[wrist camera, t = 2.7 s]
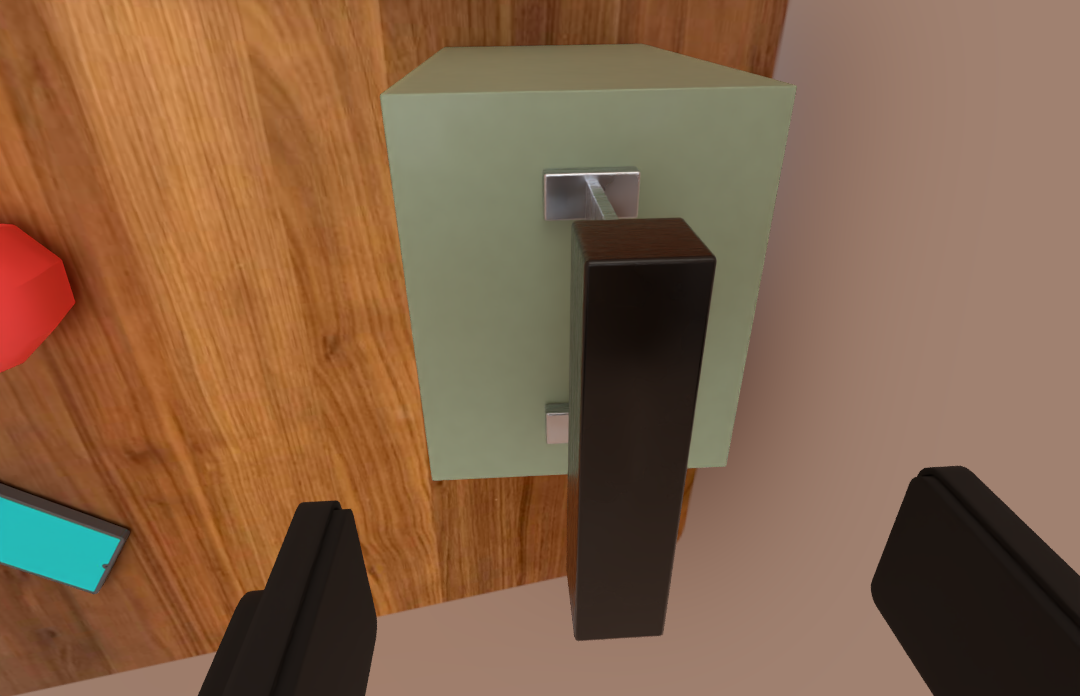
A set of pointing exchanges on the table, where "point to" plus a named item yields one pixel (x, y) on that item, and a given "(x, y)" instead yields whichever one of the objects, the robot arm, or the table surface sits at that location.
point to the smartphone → (57, 541)
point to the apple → (28, 295)
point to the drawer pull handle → (626, 395)
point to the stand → (565, 226)
